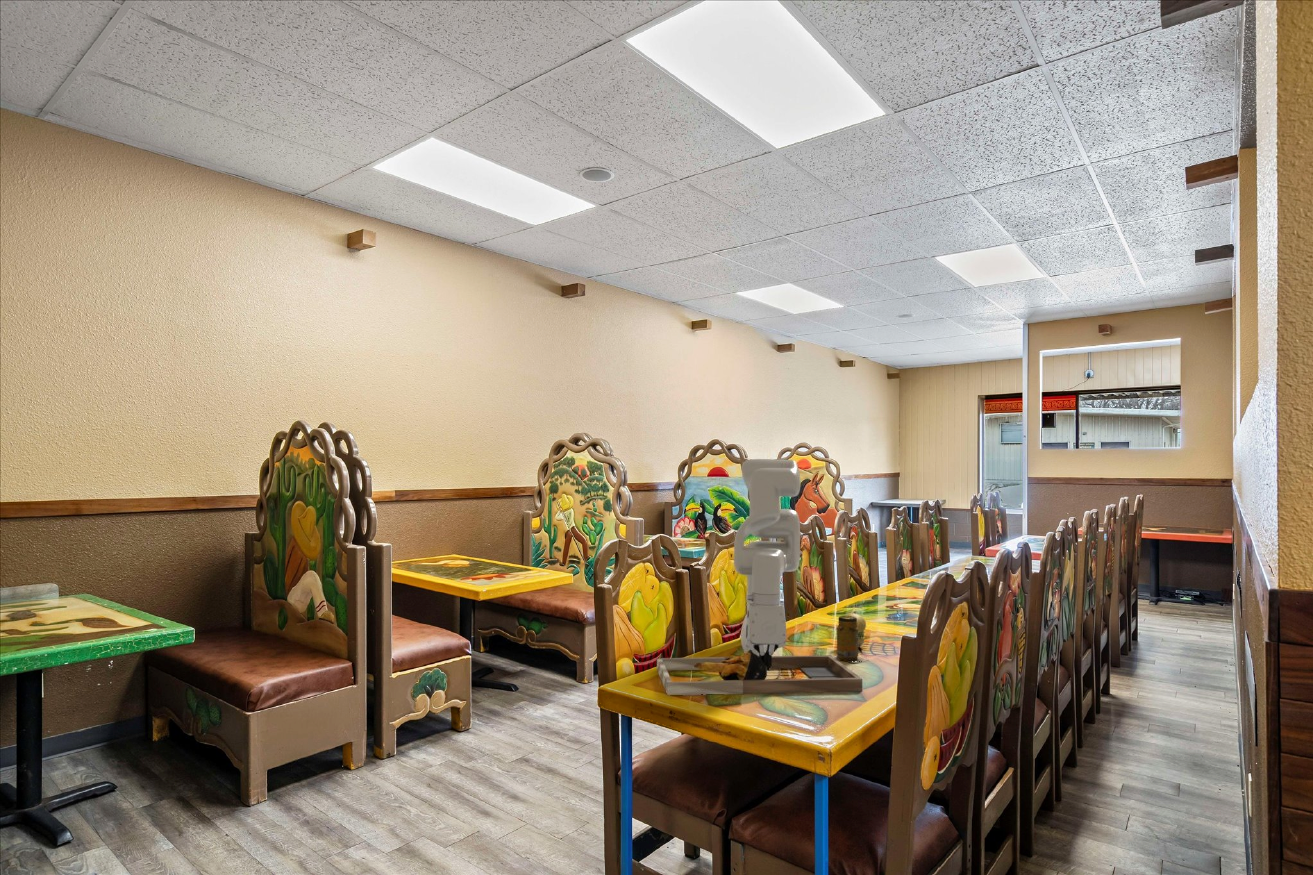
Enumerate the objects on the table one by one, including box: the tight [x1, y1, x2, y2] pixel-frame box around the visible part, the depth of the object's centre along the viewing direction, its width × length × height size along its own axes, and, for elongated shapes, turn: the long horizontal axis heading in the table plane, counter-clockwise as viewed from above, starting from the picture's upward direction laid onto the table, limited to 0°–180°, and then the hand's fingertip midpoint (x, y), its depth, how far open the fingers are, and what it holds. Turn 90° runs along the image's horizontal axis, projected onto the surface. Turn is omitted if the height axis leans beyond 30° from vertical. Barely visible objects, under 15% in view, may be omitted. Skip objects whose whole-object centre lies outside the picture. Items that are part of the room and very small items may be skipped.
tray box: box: [656, 654, 863, 696], centre depth 189 cm, size 22×49×3 cm, turn 97°
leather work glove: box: [694, 650, 768, 681], centre depth 187 cm, size 9×11×18 cm
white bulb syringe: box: [740, 611, 767, 656], centre depth 210 cm, size 8×8×18 cm
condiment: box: [832, 615, 869, 664], centre depth 211 cm, size 7×8×12 cm
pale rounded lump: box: [843, 610, 867, 647], centre depth 224 cm, size 8×7×12 cm
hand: (765, 669), depth 189 cm, fingers closed
